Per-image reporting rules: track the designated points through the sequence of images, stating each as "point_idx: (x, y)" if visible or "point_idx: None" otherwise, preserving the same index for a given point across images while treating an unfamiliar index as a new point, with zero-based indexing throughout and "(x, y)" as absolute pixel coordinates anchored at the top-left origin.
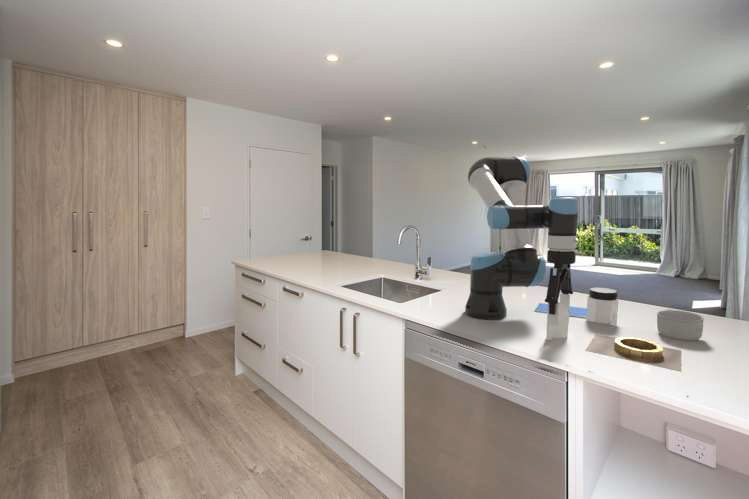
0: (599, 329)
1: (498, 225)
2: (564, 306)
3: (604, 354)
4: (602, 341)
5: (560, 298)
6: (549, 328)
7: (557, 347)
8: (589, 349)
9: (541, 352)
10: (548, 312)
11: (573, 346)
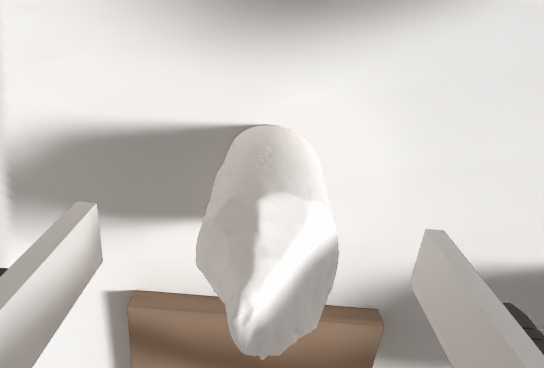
0: (535, 315)
1: None
2: (271, 351)
3: (131, 358)
4: (289, 349)
5: (490, 327)
6: (220, 170)
7: (156, 191)
8: (150, 318)
9: (31, 138)
10: (23, 260)
11: None
